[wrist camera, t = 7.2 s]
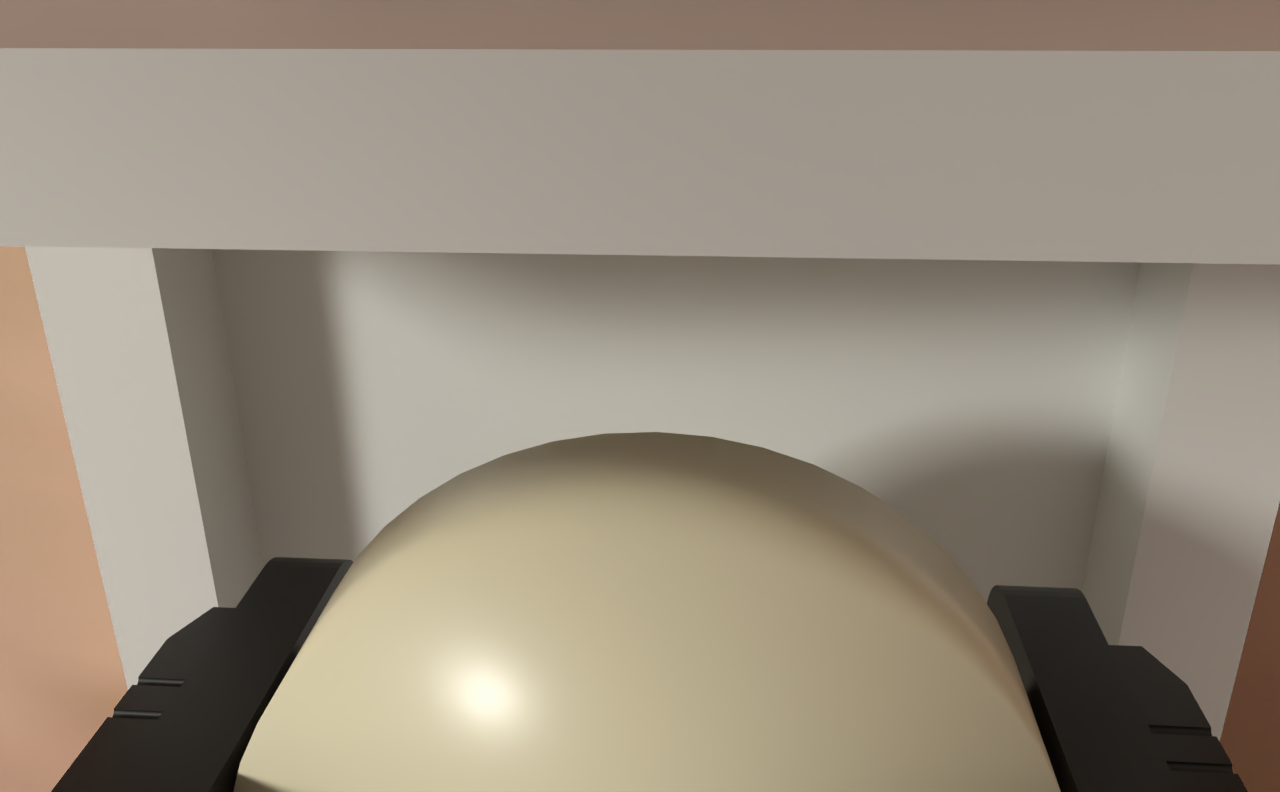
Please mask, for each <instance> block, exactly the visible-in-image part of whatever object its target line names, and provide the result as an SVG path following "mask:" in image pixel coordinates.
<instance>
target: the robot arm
mask: <svg viewBox="0 0 1280 792" xmlns="http://www.w3.org/2000/svg"><path fill="white" fill-rule="evenodd" d="M352 564H353V561H352V560H345V559H318V558H291V557H275V558H272V559H271V560H269V561H268V563H267V564H266V565H265V566H264V568H263V569H262V571H261V572H260V573H259V575H258V576H257V578H256V579H255V581H254V582H253V584H252V585H251V586H250V588H249V589H248V591H247V592H246V594H245V595H244V596H243V598H242V599H241V601H240V602H239V604H238V605H237V606H236V608H226V607H213V608H211V609H210V610H208V611H207V612H205V613H204V614H202V615H201V616H200V617H198V618H197V619H195V620H194V621H192V622H191V623H189V624H188V625H187V626H185V627H184V628H182V629H181V630H179V631H178V632H176V633H175V634H173V635H172V636H171V637H169V638H168V639H167V640H166V641H165V642H164V644H163V645H162V646H161V648H160V649H159V650H158V652H157V653H156V654H155V656H154V657H153V658H152V659H151V661H150V662H149V663H148V665H147V666H146V667H145V669H144V670H143V671H142V673H141V674H140V675H139V677H138V684H137V685H132V686H131V687H130V688H129V690H128V691H127V692H126V694H125V695H124V696H123V698H122V699H121V700H120V702H119V703H118V704H117V706H116V707H115V708H114V715H113V717H112V718H110V717H107V719H106V720H105V721H104V723H103V724H102V725H101V727H100V728H99V729H98V731H97V732H96V733H95V735H94V736H93V737H92V739H91V740H90V741H89V742H88V744H87V745H86V746H85V748H84V749H83V750H82V752H81V753H80V754H79V756H78V757H77V758H76V760H75V761H74V762H73V764H72V765H71V766H70V768H69V769H68V770H67V771H66V773H65V774H64V775H63V777H62V778H61V779H60V781H59V782H58V783H57V785H56V786H55V787H54V789H53V790H52V791H51V792H233V791H234V786H235V782H236V778H237V774H238V770H239V765H240V762H241V760H242V757H243V755H244V753H245V751H246V748H247V746H248V744H249V741H250V739H251V737H252V734H253V732H254V730H255V728H256V725H257V723H258V721H259V720H260V718H261V716H262V715H263V713H264V711H265V709H266V708H267V706H268V704H269V703H270V701H271V699H272V697H273V696H274V694H275V692H276V691H277V689H278V687H279V685H280V684H281V682H282V680H283V679H284V677H285V675H286V673H287V672H288V670H289V668H290V667H291V665H292V663H293V661H294V660H295V658H296V656H297V655H298V653H299V651H300V649H301V648H302V646H303V644H304V642H305V641H306V639H307V637H308V636H309V634H310V632H311V630H312V629H313V627H314V625H315V624H316V622H317V620H318V618H319V617H320V615H321V613H322V612H323V610H324V608H325V606H326V605H327V603H328V601H329V600H330V598H331V596H332V594H333V593H334V591H335V590H336V588H337V587H338V585H339V583H340V582H341V580H342V579H343V577H344V576H345V574H346V573H347V571H348V570H349V568H350V567H351V565H352ZM987 605H988V607H989V608H990V610H991V611H992V613H993V614H994V616H995V617H996V619H997V621H998V623H999V626H1000V628H1001V630H1002V632H1003V635H1004V637H1005V639H1006V641H1007V643H1008V646H1009V648H1010V650H1011V652H1012V655H1013V657H1014V659H1015V662H1016V665H1017V668H1018V671H1019V674H1020V677H1021V679H1022V682H1023V685H1024V688H1025V691H1026V694H1027V696H1028V699H1029V702H1030V705H1031V708H1032V711H1033V714H1034V716H1035V719H1036V722H1037V725H1038V728H1039V731H1040V734H1041V736H1042V739H1043V742H1044V745H1045V748H1046V751H1047V754H1048V756H1049V759H1050V762H1051V765H1052V768H1053V771H1054V774H1055V776H1056V779H1057V782H1058V785H1059V788H1060V791H1061V792H1248V791H1247V790H1246V788H1245V786H1244V784H1243V783H1242V781H1241V779H1240V777H1239V775H1238V774H1233V772H1232V763H1231V761H1230V760H1229V758H1228V756H1227V754H1226V752H1225V751H1224V749H1223V747H1222V745H1221V744H1220V742H1219V740H1218V738H1217V737H1216V736H1212V734H1211V726H1210V724H1209V722H1208V721H1207V719H1206V717H1205V715H1204V714H1203V712H1202V710H1201V708H1200V706H1199V705H1198V703H1197V701H1196V699H1195V698H1194V696H1193V694H1192V692H1191V691H1190V689H1189V687H1188V685H1187V684H1186V683H1185V682H1184V681H1182V680H1181V679H1180V678H1179V677H1178V676H1177V675H1175V674H1174V673H1173V672H1172V671H1171V670H1169V669H1168V668H1167V667H1166V666H1165V665H1163V664H1162V663H1161V662H1160V661H1159V660H1158V659H1156V658H1155V657H1154V656H1153V655H1152V654H1150V653H1149V652H1148V651H1147V650H1146V649H1145V648H1143V647H1142V646H1123V645H1109V644H1108V642H1107V640H1106V638H1105V636H1104V634H1103V632H1102V630H1101V628H1100V626H1099V624H1098V622H1097V620H1096V618H1095V616H1094V614H1093V612H1092V610H1091V608H1090V606H1089V604H1088V602H1087V600H1086V598H1085V596H1084V594H1083V593H1082V592H1081V591H1080V590H1079V589H1077V588H1058V587H1031V586H1005V585H995V586H994V587H993V588H992V589H991V591H990V594H989V597H988V601H987Z"/></svg>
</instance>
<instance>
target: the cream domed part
mask: <svg viewBox="0 0 1280 792" xmlns="http://www.w3.org/2000/svg"><path fill="white" fill-rule="evenodd" d="M233 792H1061V791H1060V788H1059V785H1058V782H1057V779H1056V776H1055V774H1054V771H1053V768H1052V765H1051V762H1050V759H1049V756H1048V754H1047V751H1046V748H1045V745H1044V742H1043V739H1042V736H1041V734H1040V731H1039V728H1038V725H1037V722H1036V719H1035V716H1034V714H1033V711H1032V708H1031V705H1030V702H1029V699H1028V696H1027V694H1026V691H1025V688H1024V685H1023V682H1022V679H1021V677H1020V674H1019V671H1018V668H1017V665H1016V662H1015V659H1014V657H1013V655H1012V652H1011V650H1010V648H1009V646H1008V643H1007V641H1006V639H1005V637H1004V635H1003V632H1002V630H1001V628H1000V626H999V623H998V621H997V619H996V617H995V616H994V614H993V613H992V611H991V610H990V608H989V607H988V605H987V604H986V602H985V600H984V599H983V597H982V596H981V594H980V593H979V591H978V590H977V588H976V587H975V585H974V584H973V582H972V581H971V580H970V578H969V577H968V576H967V575H966V574H965V573H964V572H963V571H962V569H961V568H960V567H959V566H958V565H957V564H956V563H955V562H954V560H953V559H952V558H951V557H950V556H949V555H948V554H947V553H946V551H945V550H944V549H943V548H942V547H941V546H940V545H939V544H938V543H936V542H935V541H934V540H933V539H932V538H931V537H929V536H928V535H927V534H926V533H925V532H924V531H922V530H921V529H920V528H919V527H918V526H917V525H915V524H914V523H913V522H912V521H911V520H910V519H908V518H907V517H906V516H905V515H904V514H902V513H900V512H899V511H897V510H896V509H894V508H893V507H891V506H890V505H888V504H887V503H885V502H883V501H882V500H880V499H879V498H877V497H876V496H874V495H873V494H871V493H870V492H868V491H866V490H865V489H863V488H862V487H860V486H858V485H856V484H854V483H851V482H849V481H847V480H845V479H843V478H841V477H839V476H837V475H835V474H833V473H831V472H829V471H826V470H824V469H822V468H820V467H818V466H816V465H814V464H811V463H808V462H805V461H802V460H799V459H796V458H793V457H790V456H787V455H784V454H781V453H778V452H775V451H772V450H769V449H766V448H763V447H758V446H753V445H749V444H744V443H739V442H734V441H730V440H725V439H720V438H715V437H709V436H698V435H687V434H676V433H664V432H638V433H605V434H598V435H591V436H585V437H578V438H572V439H565V440H558V441H552V442H549V443H545V444H542V445H538V446H535V447H531V448H527V449H524V450H520V451H517V452H513V453H510V454H506V455H503V456H501V457H499V458H496V459H494V460H492V461H489V462H487V463H484V464H482V465H480V466H477V467H475V468H473V469H470V470H468V471H466V472H463V473H461V474H459V475H457V476H456V477H454V478H452V479H451V480H449V481H447V482H446V483H444V484H442V485H441V486H439V487H437V488H436V489H434V490H432V491H431V492H429V493H427V494H426V495H424V496H422V497H421V498H419V499H418V500H417V501H415V502H414V503H413V504H412V505H410V506H409V507H408V508H407V509H406V510H404V511H403V512H402V513H401V514H399V515H398V516H397V517H396V518H394V519H393V520H392V521H391V522H390V523H388V524H387V525H386V526H385V527H384V528H383V529H382V530H381V531H380V532H379V533H378V534H377V536H376V537H375V538H374V539H373V540H372V541H371V542H370V543H369V544H368V545H367V547H366V548H365V549H364V550H363V551H362V552H361V553H360V554H359V555H358V556H357V558H356V559H355V561H354V562H353V564H352V565H351V567H350V568H349V570H348V571H347V573H346V574H345V576H344V577H343V579H342V580H341V582H340V583H339V585H338V587H337V588H336V590H335V591H334V593H333V594H332V596H331V598H330V600H329V601H328V603H327V605H326V606H325V608H324V610H323V612H322V613H321V615H320V617H319V618H318V620H317V622H316V624H315V625H314V627H313V629H312V630H311V632H310V634H309V636H308V637H307V639H306V641H305V642H304V644H303V646H302V648H301V649H300V651H299V653H298V655H297V656H296V658H295V660H294V661H293V663H292V665H291V667H290V668H289V670H288V672H287V673H286V675H285V677H284V679H283V680H282V682H281V684H280V685H279V687H278V689H277V691H276V692H275V694H274V696H273V697H272V699H271V701H270V703H269V704H268V706H267V708H266V709H265V711H264V713H263V715H262V716H261V718H260V720H259V721H258V723H257V725H256V728H255V730H254V732H253V734H252V737H251V739H250V741H249V744H248V746H247V748H246V751H245V753H244V755H243V757H242V760H241V762H240V765H239V770H238V774H237V778H236V782H235V786H234V791H233Z"/></svg>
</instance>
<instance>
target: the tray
mask: <svg viewBox="0 0 1280 792" xmlns="http://www.w3.org/2000/svg"><path fill="white" fill-rule="evenodd" d="M0 246H25V249H26V253H27V258H28V262H29V266H30V271H31V275H32V279H33V284H34V288H35V292H36V296H37V301H38V305H39V309H40V314H41V318H42V322H43V327H44V331H45V335H46V340H47V344H48V348H49V352H50V357H51V361H52V365H53V370H54V374H55V378H56V383H57V387H58V391H59V396H60V400H61V404H62V408H63V413H64V417H65V421H66V426H67V430H68V434H69V439H70V443H71V447H72V451H73V456H74V460H75V464H76V469H77V473H78V477H79V482H80V486H81V490H82V495H83V499H84V503H85V507H86V512H87V516H88V520H89V525H90V529H91V533H92V538H93V542H94V546H95V551H96V555H97V559H98V563H99V568H100V572H101V576H102V581H103V585H104V589H105V594H106V598H107V602H108V606H109V611H110V615H111V619H112V624H113V628H114V632H115V637H116V641H117V645H118V650H119V654H120V658H121V662H122V667H123V671H124V675H125V680H126V684H127V688H128V690H129V688H130V687H131V686H132V685H137V684H138V677H139V675H140V674H141V673H142V671H143V670H144V669H145V667H146V666H147V665H148V663H149V662H150V661H151V659H152V658H153V657H154V656H155V654H156V653H157V652H158V650H159V649H160V648H161V646H162V645H163V644H164V642H165V641H166V640H167V639H168V638H169V637H171V636H172V635H173V634H175V633H176V632H178V631H179V630H181V629H182V628H184V627H185V626H187V625H188V624H189V623H191V622H192V621H194V620H195V619H197V618H198V617H200V616H201V615H202V614H204V613H205V612H207V611H208V610H210V609H211V608H213V607H226V608H236V606H237V605H238V604H239V602H240V601H241V599H242V598H243V596H244V595H245V594H246V592H247V591H248V589H249V588H250V586H251V585H252V584H253V582H254V581H255V579H256V578H257V576H258V575H259V573H260V572H261V571H262V569H263V568H264V566H265V565H266V564H267V563H268V561H269V560H271V559H272V558H275V557H291V558H318V559H345V560H352V561H353V562H354V561H355V559H356V558H357V556H358V555H359V554H360V553H361V552H362V551H363V550H364V549H365V548H366V547H367V545H368V544H369V543H370V542H371V541H372V540H373V539H374V538H375V537H376V536H377V534H378V533H379V532H380V531H381V530H382V529H383V528H384V527H385V526H386V525H387V524H388V523H390V522H391V521H392V520H393V519H394V518H396V517H397V516H398V515H399V514H401V513H402V512H403V511H404V510H406V509H407V508H408V507H409V506H410V505H412V504H413V503H414V502H415V501H417V500H418V499H419V498H421V497H422V496H424V495H426V494H427V493H429V492H431V491H432V490H434V489H436V488H437V487H439V486H441V485H442V484H444V483H446V482H447V481H449V480H451V479H452V478H454V477H456V476H457V475H459V474H461V473H463V472H466V471H468V470H470V469H473V468H475V467H477V466H480V465H482V464H484V463H487V462H489V461H492V460H494V459H496V458H499V457H501V456H503V455H506V454H510V453H513V452H517V451H520V450H524V449H527V448H531V447H535V446H538V445H542V444H545V443H549V442H552V441H558V440H565V439H572V438H578V437H585V436H591V435H598V434H605V433H638V432H664V433H676V434H687V435H698V436H709V437H715V438H720V439H725V440H730V441H734V442H739V443H744V444H749V445H753V446H758V447H763V448H766V449H769V450H772V451H775V452H778V453H781V454H784V455H787V456H790V457H793V458H796V459H799V460H802V461H805V462H808V463H811V464H814V465H816V466H818V467H820V468H822V469H824V470H826V471H829V472H831V473H833V474H835V475H837V476H839V477H841V478H843V479H845V480H847V481H849V482H851V483H854V484H856V485H858V486H860V487H862V488H863V489H865V490H866V491H868V492H870V493H871V494H873V495H874V496H876V497H877V498H879V499H880V500H882V501H883V502H885V503H887V504H888V505H890V506H891V507H893V508H894V509H896V510H897V511H899V512H900V513H902V514H904V515H905V516H906V517H907V518H908V519H910V520H911V521H912V522H913V523H914V524H915V525H917V526H918V527H919V528H920V529H921V530H922V531H924V532H925V533H926V534H927V535H928V536H929V537H931V538H932V539H933V540H934V541H935V542H936V543H938V544H939V545H940V546H941V547H942V548H943V549H944V550H945V551H946V553H947V554H948V555H949V556H950V557H951V558H952V559H953V560H954V562H955V563H956V564H957V565H958V566H959V567H960V568H961V569H962V571H963V572H964V573H965V574H966V575H967V576H968V577H969V578H970V580H971V581H972V582H973V584H974V585H975V587H976V588H977V590H978V591H979V593H980V594H981V596H982V597H983V599H984V600H985V602H986V604H987V601H988V597H989V594H990V591H991V589H992V588H993V587H994V586H995V585H1005V586H1031V587H1058V588H1077V589H1079V590H1080V591H1081V592H1082V593H1083V594H1084V596H1085V598H1086V600H1087V602H1088V604H1089V606H1090V608H1091V610H1092V612H1093V614H1094V616H1095V618H1096V620H1097V622H1098V624H1099V626H1100V628H1101V630H1102V632H1103V634H1104V636H1105V638H1106V640H1107V642H1108V644H1109V645H1123V646H1142V647H1143V648H1145V649H1146V650H1147V651H1148V652H1149V653H1150V654H1152V655H1153V656H1154V657H1155V658H1156V659H1158V660H1159V661H1160V662H1161V663H1162V664H1163V665H1165V666H1166V667H1167V668H1168V669H1169V670H1171V671H1172V672H1173V673H1174V674H1175V675H1177V676H1178V677H1179V678H1180V679H1181V680H1182V681H1184V682H1185V683H1186V684H1187V685H1188V687H1189V689H1190V691H1191V692H1192V694H1193V696H1194V698H1195V699H1196V701H1197V703H1198V705H1199V706H1200V708H1201V710H1202V712H1203V714H1204V715H1205V717H1206V719H1207V721H1208V722H1209V724H1210V726H1211V734H1212V736H1216V737H1217V738H1218V740H1219V742H1220V738H1221V734H1222V730H1223V726H1224V722H1225V718H1226V714H1227V710H1228V706H1229V702H1230V698H1231V694H1232V690H1233V686H1234V682H1235V678H1236V674H1237V671H1238V667H1239V663H1240V659H1241V655H1242V651H1243V647H1244V643H1245V639H1246V635H1247V631H1248V627H1249V623H1250V619H1251V615H1252V611H1253V607H1254V603H1255V599H1256V595H1257V591H1258V587H1259V583H1260V579H1261V575H1262V571H1263V567H1264V563H1265V559H1266V555H1267V551H1268V547H1269V543H1270V539H1271V535H1272V531H1273V527H1274V523H1275V519H1276V515H1277V511H1278V507H1279V503H1280V0H0Z"/></svg>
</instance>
